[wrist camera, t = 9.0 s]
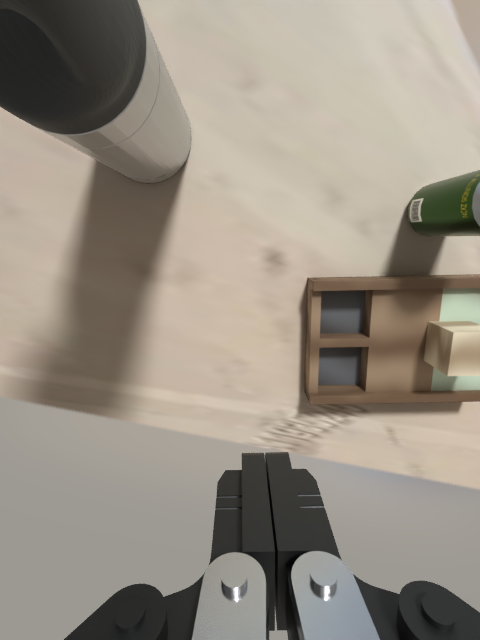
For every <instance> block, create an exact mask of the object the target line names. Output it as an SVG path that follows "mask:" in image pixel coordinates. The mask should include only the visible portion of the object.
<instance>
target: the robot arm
mask: <svg viewBox="0 0 480 640" xmlns="http://www.w3.org/2000/svg"><path fill="white" fill-rule="evenodd" d="M0 106H1V107H2V108H3V109H5V110H7V111H8V112H10V113H11V114H13V115H15V116H17V117H18V118H20V119H22V120H24V121H26V122H28V123H29V124H31V125H33V126H35V127H36V128H38V129H40V130H42V131H44V132H46V133H47V134H49V135H51V136H53V137H55V138H57V139H59V140H61V141H62V142H64V143H66V144H68V145H70V146H72V147H73V148H75V149H77V150H79V151H81V152H83V153H84V154H86V155H88V156H90V157H92V158H94V159H95V160H97V161H99V162H101V163H103V164H105V165H106V166H108V167H110V168H112V169H114V170H116V171H117V172H119V173H121V174H123V175H124V176H126V177H128V178H130V179H132V180H135V181H139V182H143V183H155V182H161V181H163V180H166V179H168V178H170V177H171V176H173V175H174V174H176V173H177V171H178V170H179V169H180V168H181V167H182V166H183V164H184V162H185V161H186V159H187V157H188V154H189V151H190V146H191V127H190V123H189V120H188V117H187V114H186V112H185V110H184V107H183V105H182V103H181V100H180V98H179V95H178V93H177V91H176V88H175V86H174V84H173V81H172V79H171V77H170V74H169V72H168V70H167V68H166V65H165V63H164V61H163V58H162V56H161V54H160V51H159V49H158V47H157V44H156V42H155V40H154V37H153V35H152V33H151V31H150V29H149V26H148V24H147V22H146V19H145V17H144V15H143V13H142V10H141V8H140V6H139V3H138V1H137V0H0ZM275 611H276V621H277V630H287V633H288V640H480V613H479V612H478V611H477V610H475V609H474V608H472V607H471V606H470V605H468V604H467V603H466V602H464V601H463V600H461V599H460V598H459V597H457V596H456V595H454V594H453V593H452V592H450V591H449V590H447V589H446V588H444V587H442V586H440V585H437V584H435V583H431V582H427V581H414V582H410V583H409V584H407V585H405V586H404V587H403V588H402V590H401V592H400V594H397V593H393V592H390V591H387V590H383V589H380V588H377V587H374V586H371V585H369V584H367V583H365V582H363V581H362V580H360V579H358V578H357V577H356V576H355V575H354V574H352V572H351V570H350V569H349V567H348V566H347V565H346V564H345V563H344V562H343V561H342V560H341V557H340V555H339V552H338V549H337V546H336V543H335V539H334V536H333V533H332V530H331V527H330V523H329V520H328V517H327V514H326V511H325V508H324V504H323V501H322V498H321V496H320V492H319V488H318V485H317V482H316V480H315V479H314V477H313V476H312V475H311V474H310V473H309V472H308V471H307V470H306V469H292V468H291V462H290V458H289V454H288V452H276V453H266V454H265V458H264V453H242V470H226V471H225V472H224V474H223V475H222V477H221V478H220V480H219V481H218V486H217V499H216V510H215V520H214V530H213V542H212V553H211V559H210V563H209V566H208V568H207V569H206V572H205V573H204V574H203V576H202V577H201V578H200V579H199V580H198V581H197V582H196V583H194V584H193V585H191V586H190V587H188V588H186V589H184V590H182V591H179V592H176V593H173V594H171V595H168V596H165V597H163V595H162V594H161V592H160V591H159V590H157V589H156V588H155V587H153V586H151V585H147V584H134V585H131V586H127V587H125V588H123V589H121V590H120V591H118V592H117V593H115V594H114V595H113V596H112V597H110V598H109V599H108V600H107V601H106V602H105V603H104V604H103V605H101V606H100V607H99V608H98V609H97V610H96V611H95V612H94V613H93V614H92V615H91V616H89V617H88V618H87V619H86V620H85V621H84V622H83V623H82V624H81V625H79V626H78V627H77V628H76V629H75V630H74V631H73V632H72V633H71V634H70V635H68V636H67V637H66V638H65V639H64V640H269V631H274V630H275Z"/></svg>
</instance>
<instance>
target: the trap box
mask: <svg viewBox="0 0 480 640" xmlns="http://www.w3.org/2000/svg"><path fill="white" fill-rule="evenodd" d="M428 321H471V322H474V323H477V324H479V325H480V274H479V275H429V276H380V277H330V278H308V293H307V330H306V367H305V393H306V396H307V398H308V400H309V403H310V404H363V403H418V402H473V401H480V376H447V375H445V374H444V373H442V372H441V371H439V370H438V369H436V368H435V367H433V366H431V365H430V364H428V363H427V362H425V361H424V353H425V345H426V337H427V329H428Z"/></svg>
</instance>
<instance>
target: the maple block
mask: <svg viewBox="0 0 480 640" xmlns="http://www.w3.org/2000/svg"><path fill="white" fill-rule="evenodd" d="M424 361H425V362H427V363H428V364H430V365H431V366H433V367H435V368H436V369H438V370H439V371H441V372H442V373H444V374H445V375H447V376H480V325H479V324H477V323H474V322H471V321H428V329H427V337H426V345H425V353H424Z"/></svg>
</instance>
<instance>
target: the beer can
mask: <svg viewBox="0 0 480 640" xmlns="http://www.w3.org/2000/svg"><path fill="white" fill-rule="evenodd" d="M408 219H409V223H410V225H411V226H412V227H413V229H414V230H415V231H416V232H418V233H419V234H421V235H425V236H480V170H478V171H475V172H471V173H468V174H464V175H461V176H457V177H454V178H450V179H447V180H443V181H440V182H436V183H433V184H430V185H427V186H425V187H423V188H422V189H420V190H419V191H418V192H417V193H416V194H415V195H414V197H413V198H412V200H411V202H410V204H409V207H408Z"/></svg>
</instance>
